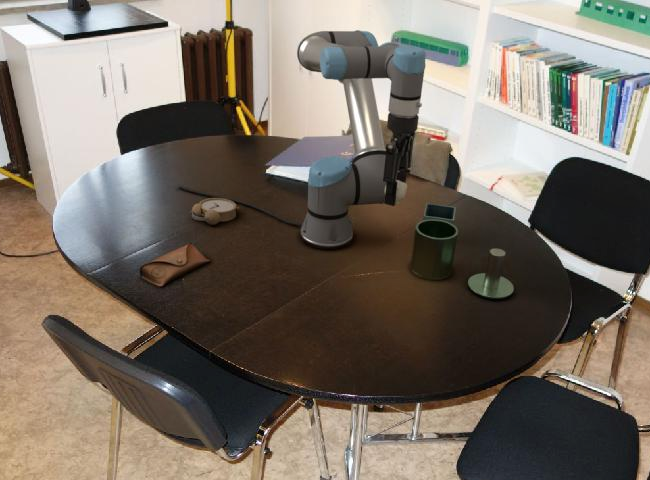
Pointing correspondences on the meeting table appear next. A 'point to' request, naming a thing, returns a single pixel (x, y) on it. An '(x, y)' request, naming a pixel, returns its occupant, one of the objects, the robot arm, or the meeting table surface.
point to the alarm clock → (214, 210)
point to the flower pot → (439, 212)
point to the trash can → (433, 249)
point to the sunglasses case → (172, 265)
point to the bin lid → (492, 278)
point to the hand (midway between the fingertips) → (394, 200)
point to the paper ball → (400, 191)
